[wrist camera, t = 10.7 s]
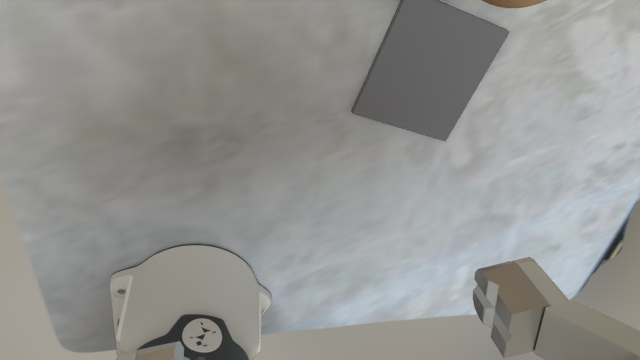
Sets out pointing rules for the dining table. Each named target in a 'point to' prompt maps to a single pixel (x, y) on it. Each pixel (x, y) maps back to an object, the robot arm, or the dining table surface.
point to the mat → (428, 67)
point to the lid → (513, 3)
